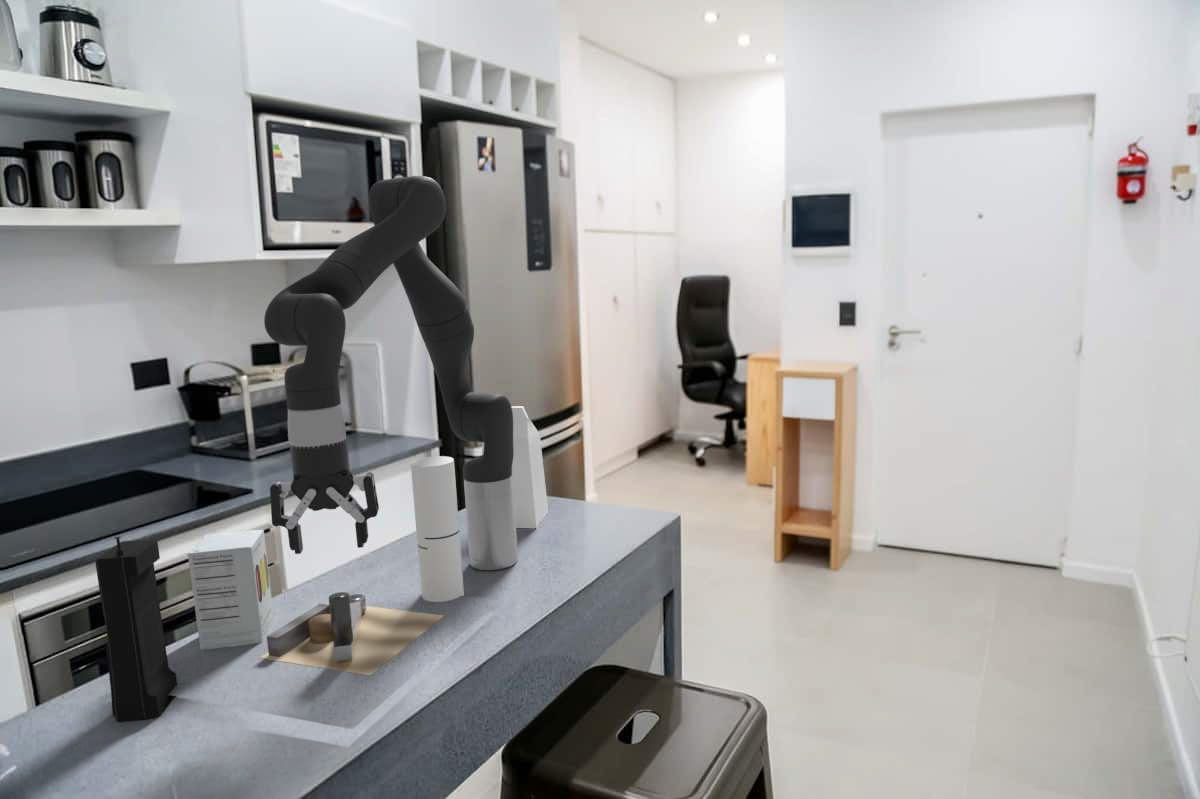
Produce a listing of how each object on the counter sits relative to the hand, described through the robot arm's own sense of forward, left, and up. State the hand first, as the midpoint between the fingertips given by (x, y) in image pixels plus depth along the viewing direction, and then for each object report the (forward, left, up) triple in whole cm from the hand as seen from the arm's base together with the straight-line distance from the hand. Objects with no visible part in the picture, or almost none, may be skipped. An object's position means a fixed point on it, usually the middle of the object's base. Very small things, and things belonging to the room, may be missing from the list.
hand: (330, 549), depth 118 cm
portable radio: (+16, -20, -19) cm, 31 cm away
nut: (-5, -7, -17) cm, 19 cm away
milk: (-69, -5, -19) cm, 72 cm away
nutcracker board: (-7, -3, -18) cm, 20 cm away
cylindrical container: (-25, +2, -19) cm, 31 cm away
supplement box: (-3, -22, -19) cm, 29 cm away
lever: (-7, -4, -16) cm, 18 cm away
